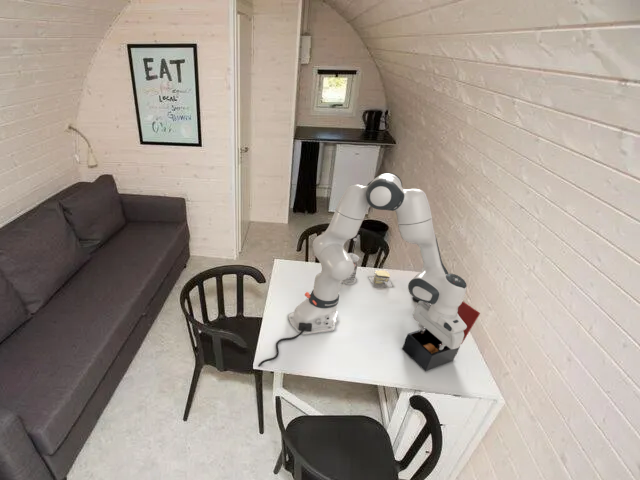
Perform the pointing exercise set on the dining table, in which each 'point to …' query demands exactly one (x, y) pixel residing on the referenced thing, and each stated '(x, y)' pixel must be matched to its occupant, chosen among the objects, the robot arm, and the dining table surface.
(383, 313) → the dining table surface
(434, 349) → the bread roll
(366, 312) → the dining table surface
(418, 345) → the black hinged box
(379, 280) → the stacked layers on plate
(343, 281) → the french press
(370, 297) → the dining table surface
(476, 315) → the red box lid
